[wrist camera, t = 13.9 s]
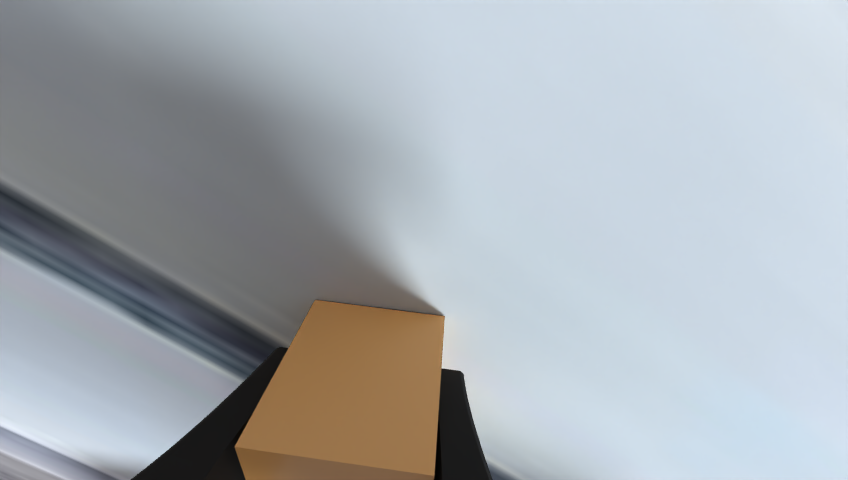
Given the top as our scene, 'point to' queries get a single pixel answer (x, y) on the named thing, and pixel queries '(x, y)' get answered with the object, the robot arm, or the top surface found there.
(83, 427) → the top surface
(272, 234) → the top surface
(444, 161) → the top surface
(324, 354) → the plug
